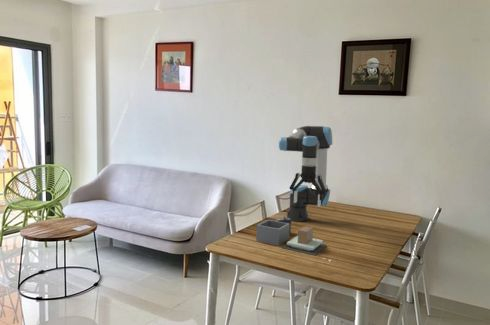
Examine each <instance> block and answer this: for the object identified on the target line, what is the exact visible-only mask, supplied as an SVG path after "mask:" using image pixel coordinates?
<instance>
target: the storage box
mask: <svg viewBox="0 0 490 325" xmlns="http://www.w3.org/2000/svg"><path fill="white" fill-rule="evenodd" d="M289 228H290V224H289V223H283V222H278V221H277V220H273V219H272V220H271V219H266V220H265V221H262V222H261V223H258V224H257V225H256V235H255V236H256V237H255V238H256V239H255V240H256V241H257V242H259V243H260V242H261V243H265V244H270V245H275V246H280V245H281V244H283V243H284V242H286V241H288V240H289V239H290V234H289Z"/></svg>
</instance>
